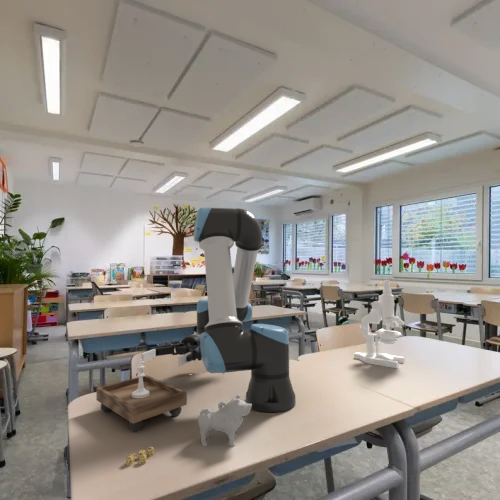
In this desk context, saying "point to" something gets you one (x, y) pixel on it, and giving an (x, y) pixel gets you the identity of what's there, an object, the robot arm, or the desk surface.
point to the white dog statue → (223, 419)
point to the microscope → (381, 330)
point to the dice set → (141, 456)
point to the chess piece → (140, 384)
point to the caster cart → (141, 400)
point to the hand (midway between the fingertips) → (160, 359)
